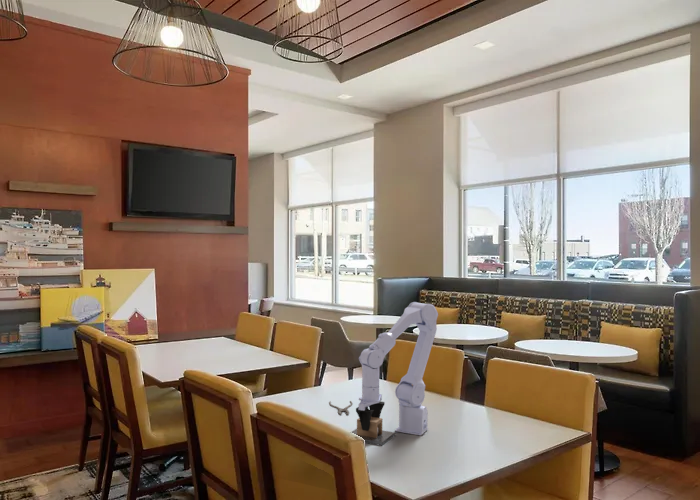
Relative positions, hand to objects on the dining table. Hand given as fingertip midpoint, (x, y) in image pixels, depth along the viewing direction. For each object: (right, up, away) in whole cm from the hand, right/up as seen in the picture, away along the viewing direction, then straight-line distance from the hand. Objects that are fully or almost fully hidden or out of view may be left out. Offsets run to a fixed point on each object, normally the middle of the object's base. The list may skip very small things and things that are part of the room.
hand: (370, 426), depth 177 cm
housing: (0, -2, 0) cm, 2 cm away
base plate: (0, -3, 0) cm, 3 cm away
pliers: (-9, -4, +34) cm, 36 cm away
